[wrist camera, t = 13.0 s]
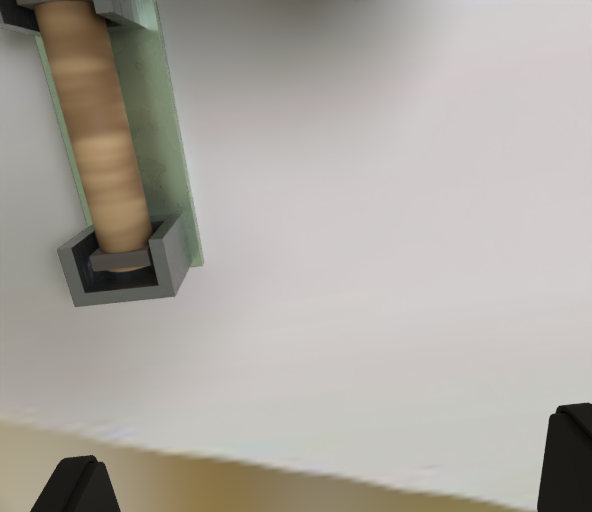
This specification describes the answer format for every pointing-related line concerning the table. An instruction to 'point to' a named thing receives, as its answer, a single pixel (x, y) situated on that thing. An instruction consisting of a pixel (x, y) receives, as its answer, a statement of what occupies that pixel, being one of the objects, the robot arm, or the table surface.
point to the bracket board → (149, 153)
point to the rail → (97, 130)
